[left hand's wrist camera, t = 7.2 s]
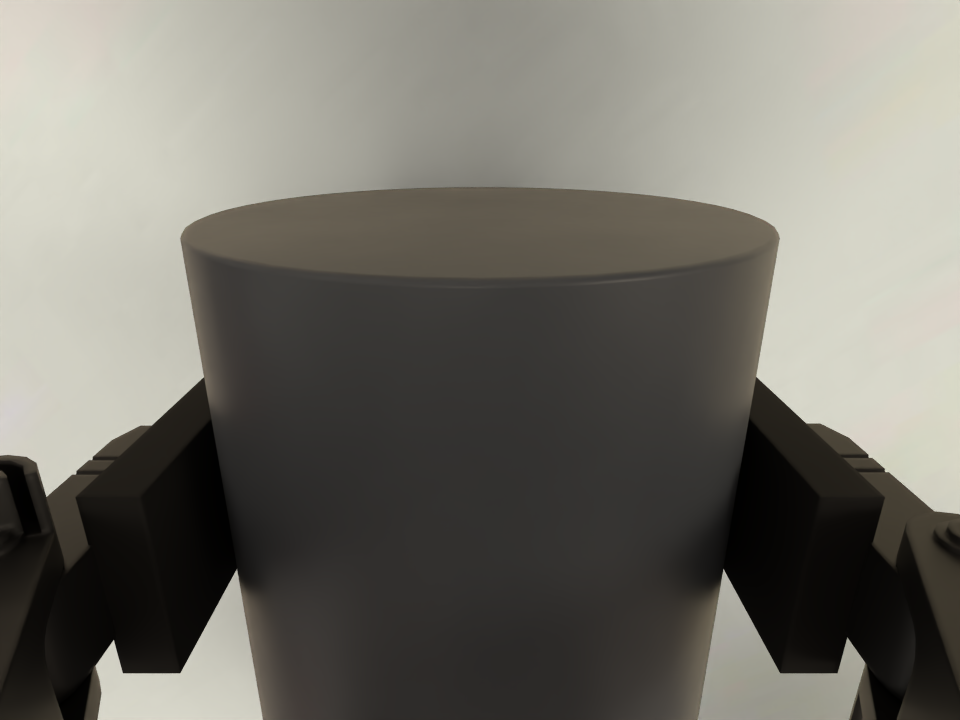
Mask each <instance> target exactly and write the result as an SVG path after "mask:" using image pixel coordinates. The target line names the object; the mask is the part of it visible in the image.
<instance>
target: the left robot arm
mask: <svg viewBox="0 0 960 720" xmlns="http://www.w3.org/2000/svg"><path fill="white" fill-rule="evenodd" d="M236 569H237V565H236V559H235V553H234V547H233V541H232V536H231V530H230V524H229V518H228V512H227V506H226V501H225V495H224V489H223V483H222V477H221V472H220V466H219V460H218V454H217V448H216V443H215V437H214V431H213V425H212V419H211V413H210V408H209V402H208V396H207V390H206V384H205V379H204V378H203V379H202V380H201V381H199V382H198V383H197V384H196V385H195V386H194V387H193V388H192V389H191V390H190V391H189V392H188V393H187V394H186V395H184V396H183V397H182V398H181V399H180V400H179V401H178V402H177V403H176V404H175V405H174V406H173V407H172V408H170V409H169V410H168V411H167V412H166V413H165V414H164V415H163V416H162V417H161V418H160V419H159V420H158V421H157V422H155V423H154V424H153V425H152V426H139V427H137V428H135V429H133V430H131V431H129V432H127V433H125V434H123V435H121V436H119V437H117V438H115V439H113V440H112V441H111V442H109V443H108V444H107V445H106V446H105V447H104V448H103V449H101V450H100V451H99V452H98V453H97V454H96V455H95V456H93V460H89V461H88V462H86V463H85V464H84V465H83V466H82V467H81V468H80V469H78V470H77V473H76V475H72V476H70V477H69V478H68V479H67V480H66V481H65V482H63V483H62V484H61V485H60V486H59V487H58V488H57V489H55V490H54V491H53V492H52V493H51V494H50V495H49V496H47V497H46V495H45V491H44V488H43V484H42V481H41V477H40V474H39V471H38V467H37V464H36V462H34V461H32V460H30V459H29V458H27V457H21V456H11V455H4V456H0V720H97V718H98V712H99V705H100V699H101V688H100V681H99V677H98V674H97V670H96V667H95V665H96V664H97V663H98V661H99V660H100V658H101V657H102V656H103V654H104V653H105V651H106V650H107V648H108V647H109V646H110V644H111V643H112V641H113V640H114V642H115V645H116V649H117V653H118V656H119V660H120V664H121V668H122V671H123V673H181V671H182V669H183V667H184V665H185V663H186V662H187V660H188V658H189V656H190V654H191V652H192V651H193V649H194V647H195V645H196V643H197V641H198V639H199V638H200V636H201V634H202V632H203V630H204V628H205V627H206V625H207V623H208V621H209V619H210V617H211V615H212V614H213V612H214V610H215V608H216V606H217V604H218V603H219V601H220V599H221V597H222V595H223V593H224V591H225V590H226V588H227V586H228V584H229V582H230V580H231V579H232V577H233V575H234V573H235V571H236ZM723 569H724V570H725V572H726V574H727V576H728V578H729V580H730V581H731V583H732V585H733V587H734V589H735V591H736V593H737V594H738V596H739V598H740V600H741V602H742V604H743V605H744V607H745V609H746V611H747V613H748V615H749V617H750V618H751V620H752V622H753V624H754V626H755V628H756V629H757V631H758V633H759V635H760V637H761V639H762V641H763V642H764V644H765V646H766V648H767V650H768V652H769V653H770V655H771V657H772V659H773V661H774V663H775V665H776V666H777V668H778V670H779V672H780V673H838V669H839V666H840V662H841V658H842V655H843V651H844V647H845V644H846V640H847V637H848V639H849V640H850V642H851V643H852V644H853V646H854V647H855V649H856V650H857V651H858V653H859V654H860V656H861V657H862V658H863V660H864V661H865V667H864V670H863V674H862V677H861V681H860V684H859V687H858V691H857V694H856V698H855V701H854V705H853V708H852V712H851V715H850V718H849V720H960V515H959V514H953V513H944V512H934V511H933V510H932V509H931V508H930V507H928V506H927V505H926V504H925V503H924V502H923V501H921V500H920V499H919V498H918V497H917V496H916V495H914V494H913V493H912V492H911V491H910V490H909V489H908V488H906V487H905V486H904V485H903V484H902V483H901V482H899V481H898V480H897V479H896V478H895V477H894V476H892V475H891V474H890V473H889V472H885V469H884V468H883V467H882V466H881V465H880V464H879V463H877V462H876V461H875V460H874V459H873V458H869V457H868V454H867V453H866V452H865V451H863V450H862V449H861V448H860V447H859V446H858V445H856V444H855V443H854V442H853V441H852V440H851V439H850V438H848V437H846V436H844V435H842V434H840V433H838V432H836V431H834V430H832V429H830V428H828V427H826V426H824V425H822V424H806V423H805V422H804V421H803V420H802V419H801V418H800V417H799V416H798V415H796V414H795V413H794V412H793V411H792V410H791V409H790V408H789V407H788V406H787V405H786V404H785V403H784V402H782V401H781V400H780V399H779V398H778V397H777V396H776V395H775V394H774V393H773V392H772V391H771V390H770V389H769V388H767V387H766V386H765V385H764V384H763V383H762V382H761V381H760V380H759V379H758V378H757V377H756V380H755V386H754V392H753V397H752V403H751V409H750V415H749V421H748V427H747V433H746V438H745V444H744V450H743V456H742V462H741V468H740V474H739V480H738V485H737V491H736V497H735V503H734V509H733V515H732V521H731V527H730V532H729V538H728V544H727V550H726V556H725V562H724V568H723Z"/></svg>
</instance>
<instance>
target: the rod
mask: <svg viewBox="0 0 960 720" xmlns="http://www.w3.org/2000/svg"><path fill="white" fill-rule="evenodd" d="M779 239H780V238H779V234H778V232H777V231H776V229H775V227H774V226H772V225H771V224H769V223H767V222H766V221H764V220H762V219H759V218H757V217H755V216H752V215H750V214H747V213H744V212H740V211H737V210H734V209H729V208H725V207H721V206H716V205H711V204H706V203H700V202H695V201H688V200H681V199H675V198H667V197H658V196H650V195H640V194H630V193H618V192H605V191H589V190H571V189H548V188H508V187H454V188H415V189H392V190H374V191H358V192H345V193H333V194H323V195H313V196H304V197H296V198H288V199H281V200H274V201H268V202H262V203H256V204H251V205H246V206H241V207H237V208H233V209H228V210H225V211H221V212H218V213H215V214H211V215H209V216H207V217H204V218H202V219H199V220H197V221H195V222H193V223H192V224H190V225H189V226H187V227H186V228H185V230H184V231H183V233H182V235H181V245H182V251H183V257H184V262H185V268H186V274H187V280H188V286H189V291H190V297H191V303H192V309H193V315H194V320H195V326H196V332H197V338H198V344H199V349H200V355H201V361H202V367H203V373H204V379H205V384H206V390H207V396H208V402H209V408H210V413H211V419H212V425H213V431H214V437H215V443H216V448H217V454H218V460H219V466H220V472H221V477H222V483H223V489H224V495H225V501H226V506H227V512H228V518H229V524H230V530H231V536H232V541H233V547H234V553H235V559H236V565H237V570H238V576H239V582H240V588H241V594H242V599H243V605H244V611H245V617H246V623H247V629H248V634H249V640H250V646H251V652H252V658H253V663H254V669H255V675H256V681H257V687H258V692H259V698H260V704H261V710H262V716H263V720H698V714H699V709H700V703H701V697H702V691H703V685H704V679H705V673H706V667H707V662H708V656H709V650H710V644H711V638H712V632H713V626H714V621H715V615H716V609H717V603H718V597H719V591H720V585H721V579H722V574H723V568H724V562H725V556H726V550H727V544H728V538H729V532H730V527H731V521H732V515H733V509H734V503H735V497H736V491H737V485H738V480H739V474H740V468H741V462H742V456H743V450H744V444H745V438H746V433H747V427H748V421H749V415H750V409H751V403H752V397H753V392H754V386H755V380H756V374H757V368H758V362H759V356H760V350H761V345H762V339H763V333H764V327H765V321H766V315H767V309H768V303H769V298H770V292H771V286H772V280H773V274H774V268H775V262H776V256H777V251H778V245H779Z"/></svg>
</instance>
